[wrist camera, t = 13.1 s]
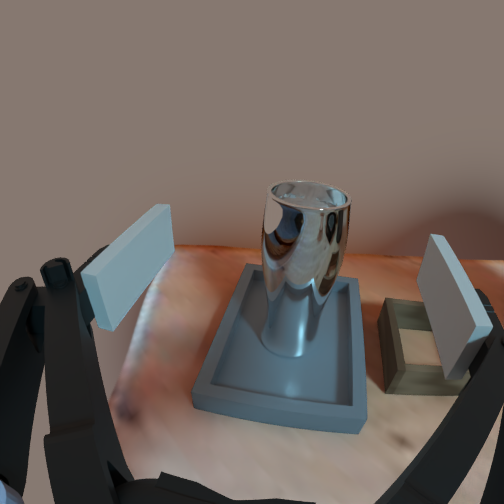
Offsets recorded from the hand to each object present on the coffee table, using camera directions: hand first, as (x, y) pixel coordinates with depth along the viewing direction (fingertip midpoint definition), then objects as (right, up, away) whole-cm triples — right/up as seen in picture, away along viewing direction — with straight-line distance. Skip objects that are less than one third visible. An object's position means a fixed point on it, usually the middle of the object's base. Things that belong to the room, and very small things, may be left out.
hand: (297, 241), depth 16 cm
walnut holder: (+17, -12, +14) cm, 25 cm away
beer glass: (+2, -9, +16) cm, 19 cm away
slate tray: (+2, -10, +17) cm, 20 cm away
